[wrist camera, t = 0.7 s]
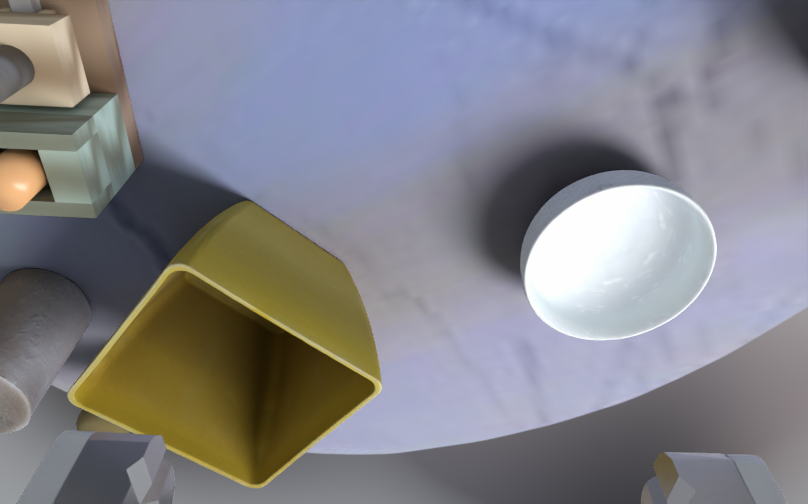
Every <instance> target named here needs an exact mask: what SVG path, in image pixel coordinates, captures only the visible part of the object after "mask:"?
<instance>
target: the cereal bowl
mask: <svg viewBox="0 0 808 504" xmlns="http://www.w3.org/2000/svg"><path fill="white" fill-rule="evenodd" d="M716 250H717V248H716V237H715V233H714V229H713V226H712V224H711V222H710V220H709V218H708V216H707V214H706V213H705V211H704V210H703V209H702V207H701V206H700V205H699V204H698V203H697V202H696V200H694V199H693V198H692V197H691V196H690V194H688V193H687V192H685V191H684V189H682V188H681V187H679V186H678V185H676V184H675V183H672V182H671V181H669V180H667V179H664V178H662V177H660V176H657V175H654V174H651V173H646V172H642V171H636V170H617V171H608V172H603V173H598V174H595V175H591V176H588V177H585V178H583V179H581V180H579V181H576V182H575V183H572V184H570V185H569V186H567V187H566V188H563V189H562V190H561V191H559V192H558V193H557V194H555V195H554V196H553V197H552V198H551V199H549V200H548V202H546V203H545V205H544V206H543V207H541V209H540V210H539V212H538V213H537V214H536V215H535V217H534V219H533V220H532V222H531V223H530V226H529V228H528V229H527V232H526V235H525V237H524V241H523V244H522V249H521V257H520V269H521V277H522V283H523V288H524V291H525V294H526V297H527V299H528V302H529V304H530V305H531V307H532V309H533V310H534V312H535V313H536V314H537V315H538V316H539V318H540V319H542V320H543V321H544V322H545V323H546V324H547V325H549V326H550V327H552V328H553V329H555V330H557V331H559V332H561V333H564V334H566V335H569V336H572V337H577V338H581V339H588V340H614V339H622V338H627V337H632V336H636V335H639V334H642V333H645V332H647V331H650V330H652V329H654V328H657V327H659V326H661V325H663V324H664V323H666V322H668V321H670V320H671V319H673V318H674V317H676V316H677V315H679V314H680V313H681V312H682V311H683V310H685V309H686V308H687V307H688V306H689V305H690V304H691V303H692V302H693V301H694V300H695V299H696V298H697V296H698V295H699V294H700V292H701V291H702V290H703V288H704V287H705V285H706V283H707V281H708V280H709V278H710V275H711V273H712V270H713V267H714V264H715V259H716Z"/></svg>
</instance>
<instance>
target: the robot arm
mask: <svg viewBox="0 0 808 504" xmlns="http://www.w3.org/2000/svg"><path fill="white" fill-rule="evenodd" d="M165 450H166V446H165V443H164V440H163V437H162V435H147V434H129V433H112V432H97V431H72V430H65V431H64V432H63V433H62V434H60V435H59V436H58V437H57V438H56V439H55V440H54V442H53V443H52V445H51V447H50V448H49V450H48V452H47V453H46V455H45V457H44V458H43V460H42V462H41V463H40V465H39V467H38V469H37V470H36V472H35V473H34V475H33V477H32V478H31V480H30V482H29V483H28V485H27V487H26V488H25V490H24V492H23V494H22V495H21V497H20V499H19V500H18V502H17V503H16V504H172V502H173V496H174V489H175V480H174V472H173V468H172V465H171V464H169V463H168V462H166V461H165V460H164V459H163V455H164V453H165ZM653 466H654V469H655V471H656V474H657V476H655V477H654V478H652V479H651V480H649V481H647V482H646V484H645V487H644V489H643V492H642V495H641V496H642V497H641V504H788V503H787V501H786V499H785V497H784V495H783V494H782V492H781V490H780V488H779V487H778V485H777V483H776V481H775V479H774V478H773V476H772V474H771V472H770V470H769V469H768V467H767V465H766V463H765V462H764V461H763V460H762V459H761V458H760V457H759V456H755V455H723V454H721V453H676V452H674V453H673V452H663V453H662V454H660V455H659V456H658V457H657V459H656V461H655V464H654V465H653Z"/></svg>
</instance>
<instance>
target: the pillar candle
mask: <svg viewBox="0 0 808 504" xmlns="http://www.w3.org/2000/svg"><path fill="white" fill-rule="evenodd" d="M91 319H92V309H91V307H90V305H89V302H88V301H87V299H86V297H85V295H84V293H83V292H82V291H81V289H80V288H79V287H78V286H77V285H75V284H74V283H73V282H71V281H70V280H68V279H66V278H64V277H63V276H61V275H59V274H56V273H53V272H50V271H47V270H41V269H33V268H32V269H22V270H17V271H13V272H11V273H9V274H7V275H6V276H5V277H4V278H3V280H2V281H1V282H0V434H3V433H9V432H13V431H16V430H21V429H22V428H23V427H25V426H26V425H27V424H28V421H29V420H30V417H31V415H32V414H33V412H34V411H35V409H36V407H37V406H38V404H39V403H40V401H41V399H42V398H43V396H44V395H45V393H46V392H47V390H48V388H49V387H50V385H51V384H52V382H53V381H54V379H55V378H56V376H57V375H58V373H59V371H60V370H61V368H62V367H63V365H64V364H65V362H66V360H67V359H68V357H69V356H70V354H71V352H72V351H73V349H74V348H75V346H76V344H77V343H78V341H79V339H80V338H81V336H82V335H83V333H84V332H85V330H86V328H87V327H88V325H89V323H90V321H91Z"/></svg>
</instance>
